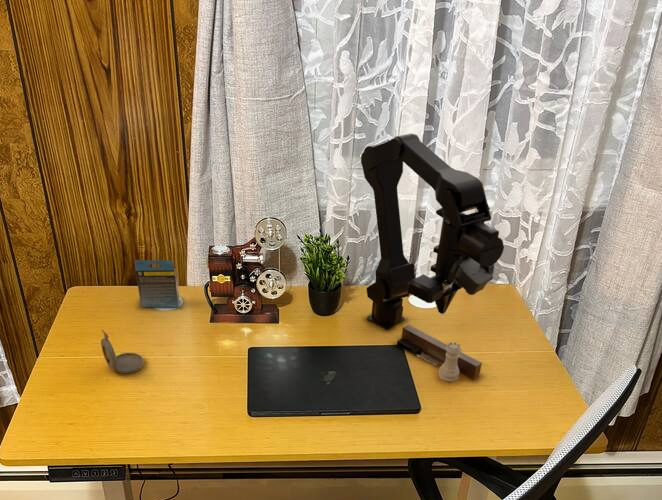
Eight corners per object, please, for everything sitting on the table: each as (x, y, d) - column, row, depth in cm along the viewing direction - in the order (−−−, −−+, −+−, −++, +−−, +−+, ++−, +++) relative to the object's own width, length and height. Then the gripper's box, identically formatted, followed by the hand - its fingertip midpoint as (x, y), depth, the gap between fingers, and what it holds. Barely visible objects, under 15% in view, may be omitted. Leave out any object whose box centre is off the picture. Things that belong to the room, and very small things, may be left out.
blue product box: (180, 299, 180) (175, 252, 172) (178, 308, 177) (173, 260, 169) (142, 299, 179) (135, 252, 171) (140, 308, 176) (133, 260, 168)
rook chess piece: (454, 385, 157) (460, 353, 152) (434, 378, 159) (439, 347, 154) (462, 374, 160) (468, 343, 155) (442, 368, 162) (448, 336, 156)
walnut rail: (400, 340, 169) (402, 327, 167) (406, 337, 170) (408, 324, 168) (473, 380, 159) (476, 366, 157) (479, 376, 160) (482, 362, 158)
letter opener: (396, 345, 168) (397, 340, 167) (401, 342, 169) (402, 337, 168) (435, 366, 162) (436, 362, 161) (440, 363, 163) (441, 358, 162)
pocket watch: (150, 361, 161) (144, 321, 154) (126, 382, 155) (119, 342, 148) (118, 351, 163) (111, 311, 156) (94, 372, 157) (85, 331, 151)
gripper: (457, 275, 137) (444, 346, 147) (516, 244, 147) (500, 312, 157) (410, 253, 142) (401, 323, 153) (470, 224, 152) (457, 291, 163)
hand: (441, 312), depth 156 cm, fingers closed
